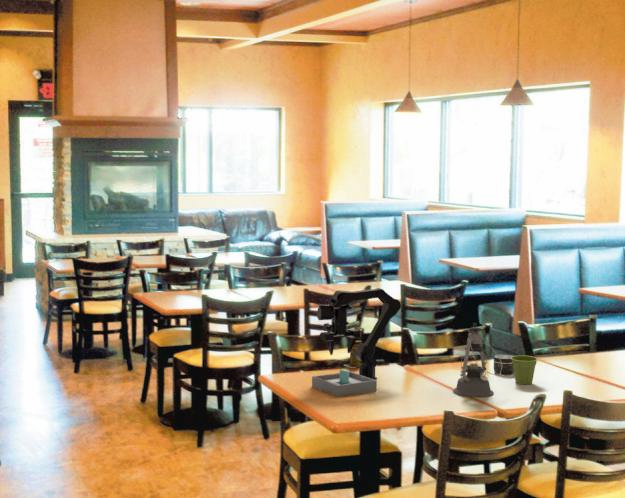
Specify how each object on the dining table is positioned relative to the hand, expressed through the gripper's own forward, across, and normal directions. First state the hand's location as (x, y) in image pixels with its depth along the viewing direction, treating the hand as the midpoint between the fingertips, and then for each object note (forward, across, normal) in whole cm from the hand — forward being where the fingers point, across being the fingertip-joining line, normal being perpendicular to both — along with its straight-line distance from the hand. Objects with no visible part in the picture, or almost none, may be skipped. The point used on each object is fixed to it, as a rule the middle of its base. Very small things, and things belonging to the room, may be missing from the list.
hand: (340, 353), depth 434 cm
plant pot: (+12, -69, +44) cm, 83 cm away
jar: (+12, -76, +24) cm, 81 cm away
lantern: (+12, -38, +48) cm, 62 cm away
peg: (+12, +7, +14) cm, 20 cm away
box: (+12, +7, +14) cm, 20 cm away
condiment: (+12, -23, -22) cm, 34 cm away
